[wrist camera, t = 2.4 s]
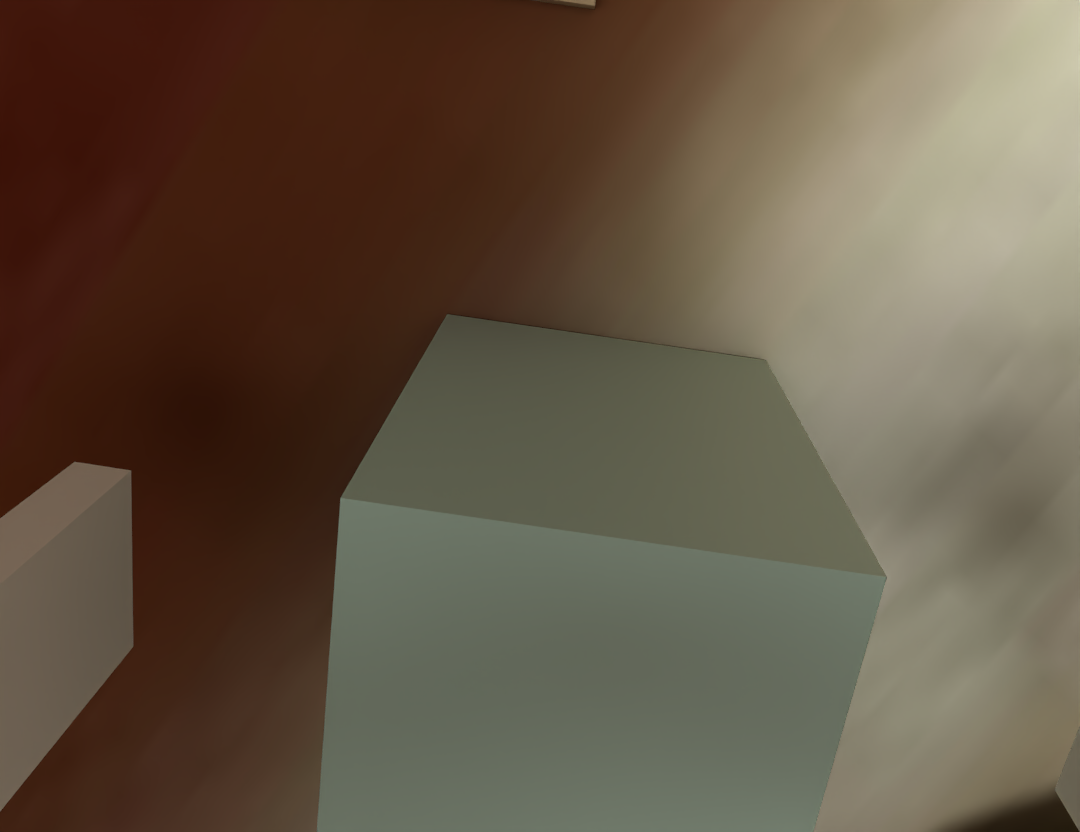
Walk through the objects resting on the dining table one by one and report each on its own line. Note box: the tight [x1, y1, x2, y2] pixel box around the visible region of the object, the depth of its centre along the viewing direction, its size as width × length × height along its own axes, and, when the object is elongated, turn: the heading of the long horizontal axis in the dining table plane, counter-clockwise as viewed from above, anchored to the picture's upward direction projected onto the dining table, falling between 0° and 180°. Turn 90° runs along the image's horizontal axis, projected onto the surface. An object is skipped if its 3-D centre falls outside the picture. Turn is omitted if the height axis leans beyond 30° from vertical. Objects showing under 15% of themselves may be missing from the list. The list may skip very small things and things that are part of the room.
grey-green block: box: [317, 314, 887, 832], centre depth 15 cm, size 6×6×8 cm
